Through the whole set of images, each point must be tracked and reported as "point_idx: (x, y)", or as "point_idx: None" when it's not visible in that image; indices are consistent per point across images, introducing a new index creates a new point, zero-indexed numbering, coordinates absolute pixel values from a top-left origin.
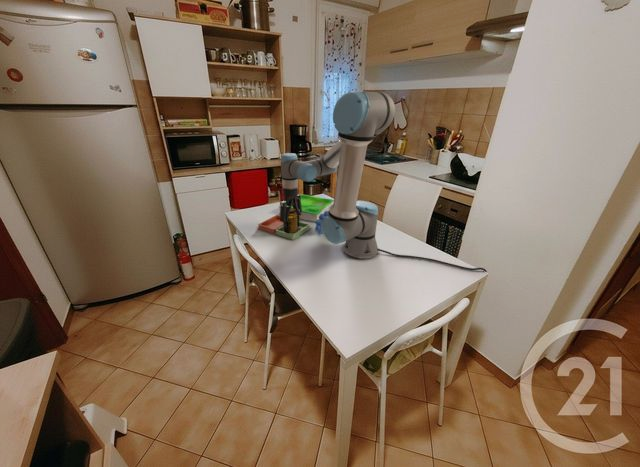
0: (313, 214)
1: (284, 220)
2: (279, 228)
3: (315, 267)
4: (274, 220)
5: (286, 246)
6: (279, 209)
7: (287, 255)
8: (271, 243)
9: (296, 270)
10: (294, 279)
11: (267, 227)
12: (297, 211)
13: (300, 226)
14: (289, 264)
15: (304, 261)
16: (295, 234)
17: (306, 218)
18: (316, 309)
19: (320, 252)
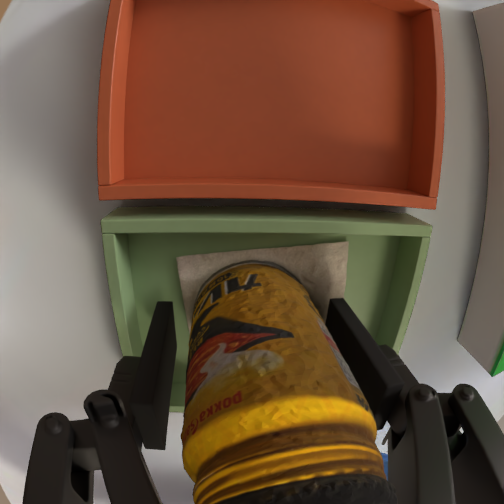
0: (498, 348)
1: (74, 473)
2: (159, 232)
3: None
4: (362, 7)
5: (63, 384)
6: (502, 3)
7: (29, 416)
8: (10, 285)
9: (22, 458)
10: (3, 459)
11: (99, 89)
12: (389, 480)
13: (368, 311)
14: (14, 437)
15: None
16: (173, 408)
17: (486, 270)
18: (12, 493)
19: (157, 489)
